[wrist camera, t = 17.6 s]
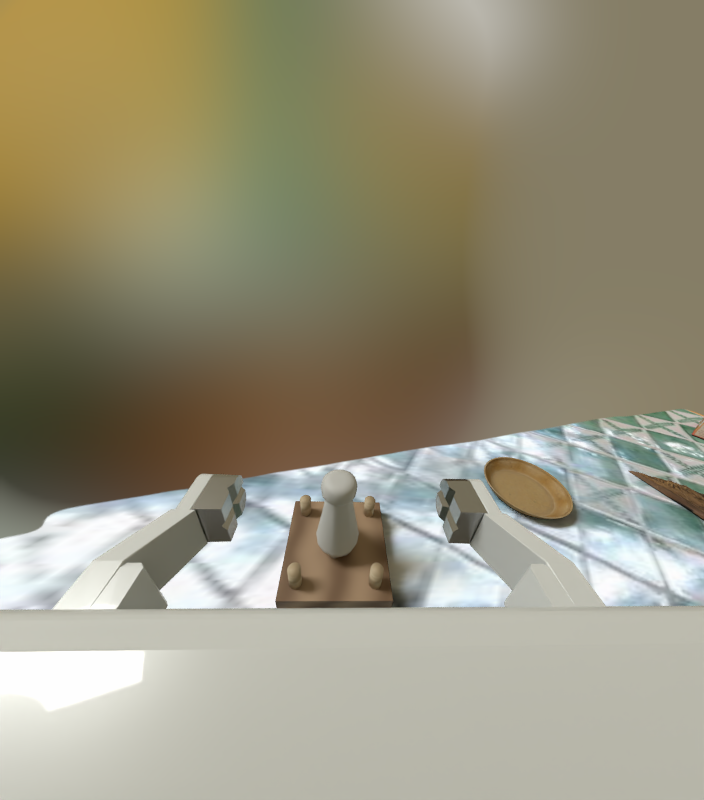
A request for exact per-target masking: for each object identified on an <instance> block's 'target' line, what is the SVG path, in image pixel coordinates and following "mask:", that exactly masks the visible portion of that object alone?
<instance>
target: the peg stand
mask: <svg viewBox="0 0 704 800" xmlns="http://www.w3.org/2000/svg"><path fill="white" fill-rule="evenodd" d="M353 505H354V510H355V516H356V521H357V526H358V532H359V535H358V540H357V543H356V545H355V547H354V548H353V549H352V551H351V552H350V553H349V554H347V555H346V556H342V557H338V558H334V559H333V558H332V557H331V556H329V555H328V554H326V553H324V552H323V551H322V549H321V548H320V546H319V545H318V542H317V535H316V532H317V529H318V525H319V522H320V518H321V514H322V510H323V506H324V502H311V498H310V496H308V495H304V496H302V497H301V498H300V501H296V502H295V507H294V512H293V517H292V522H291V527H290V532H289V537H288V542H287V546H286V551H285V556H284V561H283V566H282V571H281V576H280V581H279V586H278V591H277V596H276V601H275V602H276V607H277V608H391V606H392V603H393V597H392V590H391V583H390V576H389V569H388V561H387V554H386V547H385V540H384V533H383V526H382V519H381V512H380V504H379V503H375V499H374V498H373V497H372V496H368V497H366V498H365V502H353Z"/></svg>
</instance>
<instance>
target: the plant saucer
mask: <svg viewBox="0 0 704 800" xmlns="http://www.w3.org/2000/svg"><path fill="white" fill-rule="evenodd" d="M484 474H485V478H486V480H487V482H488V484H489V486H490V487H491V489H492V490H493V492H494V493H495V494H496V495H497V496H498V497H499V498H500V499H501V500H502V501H503V502H504V503H506V504H507V505H508V506H510V507H511V508H513V509H515V510H517V511H519V512H521V513H523V514H526V515H529V516H533V517H537V518H543V519H558V518H563V517H565V516H567V515H569V514H570V513H571V511H572V509H573V501H572V498H571V496H570V494H569V492H568V491H567V490H566V488H565V487H564V486H563V485H562V484H561V483H560V482H559V481H558V480H557V479H556V478H555V477H553V476H552V475H551V474H549V473H548V472H546V471H544V470H543V469H541V468H539V467H537V466H535V465H533V464H531V463H528V462H526V461H523V460H519V459H515V458H509V457H498V458H494V459H491V460H490V461H488V462H487V463H486V465H485V468H484Z"/></svg>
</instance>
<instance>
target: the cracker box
mask: <svg viewBox="0 0 704 800" xmlns="http://www.w3.org/2000/svg"><path fill="white" fill-rule="evenodd" d="M692 435H694V436H697V437H699V438H702V439H704V418H703V419H702V421H701V422H700V423H699V424H698V426H697V427H696V429H695V430H694V432H693V433H692Z"/></svg>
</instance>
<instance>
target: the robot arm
mask: <svg viewBox="0 0 704 800" xmlns="http://www.w3.org/2000/svg"><path fill="white" fill-rule="evenodd" d="M242 484H243V479H242V476H240V475H221V474H201V475H199V476H198V477H197V478H196V480H195V481H194V483H193V484H192V485H191V487H190V488H189V490H188V491H187V493H186V494H185V496H184V497H183V499H182V500H181V502H180V503H179V505H178V506H177V508H176V509H171V510H170V511H168V512H166V513H165V514H163V515H162V516H160V517H159V518H157V519H156V520H154V521H153V522H151V523H150V524H148V525H147V526H145V527H144V528H142V529H141V530H139V531H138V532H136V533H134V534H133V535H131V536H130V537H128V538H127V539H125V540H124V541H122V542H121V543H119V544H118V545H116V546H115V547H113V548H112V549H110V550H109V551H107V552H106V553H104V554H103V555H101V556H99V557H98V558H96V559H95V560H93V561H92V562H91V563H90V565H89V566H88V567H87V568H86V569H85V571H84V572H83V573H82V574H81V575H80V577H79V578H78V579H77V580H76V581H75V583H74V584H73V585H72V586H71V587H70V589H69V590H68V591H67V592H66V593H65V595H64V596H63V597H62V598H61V599H60V601H59V602H58V603H57V604H56V605H55V607H54V608H53V609H52V610H0V800H704V606H608V607H606V606H605V604H604V603H603V602H602V600H601V599H600V598H599V596H598V595H597V594H596V592H595V591H594V590H593V588H592V587H591V586H590V584H589V583H588V582H587V580H586V579H585V578H584V576H583V575H582V574H581V572H580V571H579V570H578V568H577V567H576V566H575V564H574V563H573V562H571V561H570V560H569V559H567V558H566V557H564V556H563V555H562V554H560V553H559V552H558V551H556V550H555V549H554V548H552V547H551V546H549V545H548V544H547V543H545V542H544V541H543V540H541V539H540V538H538V537H537V536H536V535H534V534H533V533H532V532H530V531H529V530H527V529H526V528H525V527H523V526H522V525H521V524H519V523H518V522H516V521H515V520H514V519H512V518H511V517H510V516H508V515H507V514H502V513H501V511H500V509H499V508H498V506H497V505H496V503H495V501H494V500H493V498H492V497H491V495H490V493H489V492H488V490H487V489H486V487H485V485H484V484H483V482H482V481H481V480H479V479H467V480H466V479H443V480H442V481H441V483H440V487H441V491H439V492H438V493H437V496H436V509H437V513H438V515H439V517H440V518H441V519H442V520H443V521H444V524H443V529H444V532H445V535H446V537H447V540H448V543H467V544H470V545H471V547H472V548H473V549H474V550H475V551H476V552H477V553H478V554H479V555H480V556H481V557H482V558H483V559H484V561H485V562H486V563H487V564H488V565H489V566H490V567H491V568H492V569H493V570H494V571H495V572H496V573H497V574H498V576H499V577H500V578H501V579H502V580H503V581H504V582H505V583H506V584H507V585H508V586H509V587H510V588H511V590H512V592H511V593H510V594H509V596H508V597H507V598H506V600H505V602H504V605H505V607H416V608H244V609H166V608H167V606H168V605H167V601H166V600H165V598H164V597H163V595H162V593H161V592H160V589H161V588H162V587H163V586H164V585H165V584H167V583H168V582H169V581H170V580H171V579H172V578H173V577H174V576H175V575H176V574H177V573H178V572H179V571H180V570H181V569H182V568H183V567H184V566H185V565H186V564H187V563H188V562H189V561H190V560H191V559H192V558H193V557H194V556H195V555H196V554H197V553H198V552H199V551H200V550H201V549H202V548H203V547H204V546H205V545H206V544H207V542H220V541H231V540H232V538H233V535H234V533H235V530H236V528H237V525H238V524H237V520H236V519H237V518H238V517H239V516H240V515H242V513H243V510H244V507H245V502H246V492H245V489H243V488H242V487H241V486H242Z"/></svg>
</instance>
